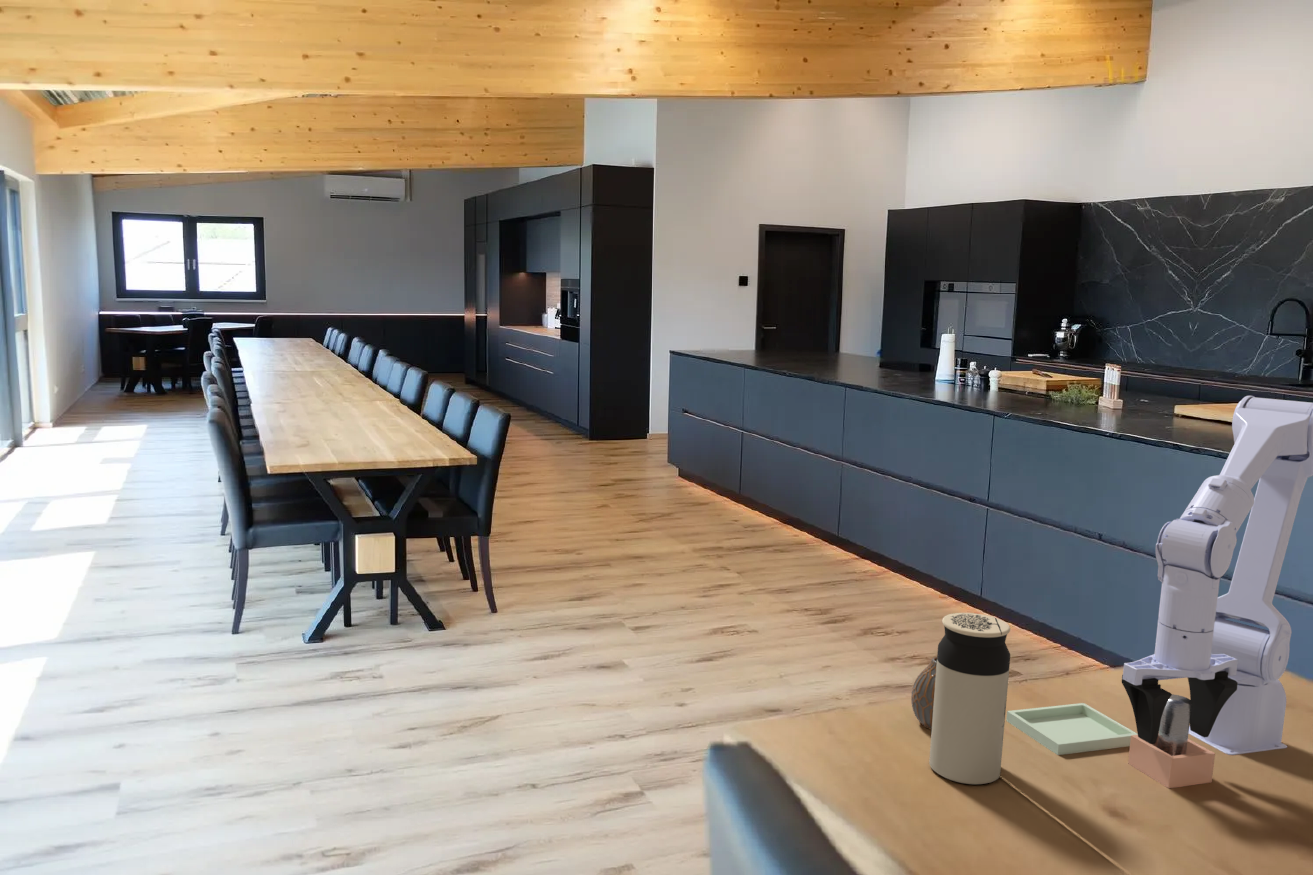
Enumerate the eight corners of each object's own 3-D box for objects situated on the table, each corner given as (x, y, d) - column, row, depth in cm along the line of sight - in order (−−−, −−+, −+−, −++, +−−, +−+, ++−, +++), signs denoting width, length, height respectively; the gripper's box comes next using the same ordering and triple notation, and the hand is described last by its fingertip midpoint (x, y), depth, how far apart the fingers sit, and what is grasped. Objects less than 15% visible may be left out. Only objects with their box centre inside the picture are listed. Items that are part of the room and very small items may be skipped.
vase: (967, 738, 126) (972, 672, 124) (910, 732, 127) (915, 666, 126) (962, 716, 132) (967, 653, 131) (908, 711, 134) (912, 648, 132)
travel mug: (926, 778, 115) (937, 627, 112) (932, 749, 122) (942, 607, 120) (999, 792, 112) (1012, 638, 110) (1000, 762, 120) (1013, 617, 117)
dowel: (1169, 765, 119) (1177, 693, 118) (1189, 776, 116) (1198, 703, 115) (1149, 767, 118) (1156, 695, 117) (1168, 779, 115) (1177, 705, 114)
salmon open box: (1169, 761, 121) (1173, 730, 121) (1211, 785, 115) (1215, 753, 115) (1127, 767, 119) (1131, 735, 119) (1167, 792, 113) (1171, 758, 113)
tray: (1082, 715, 134) (1083, 702, 134) (1138, 748, 124) (1139, 734, 124) (1005, 724, 130) (1007, 710, 130) (1057, 758, 121) (1058, 744, 121)
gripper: (1161, 640, 109) (1148, 758, 111) (1265, 631, 113) (1251, 745, 115) (1114, 620, 115) (1103, 731, 117) (1214, 612, 120) (1201, 720, 122)
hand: (1173, 736), depth 117 cm, fingers open, 7 cm apart
